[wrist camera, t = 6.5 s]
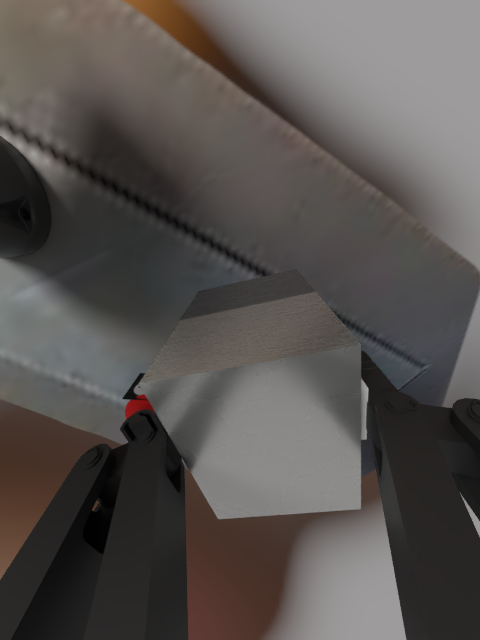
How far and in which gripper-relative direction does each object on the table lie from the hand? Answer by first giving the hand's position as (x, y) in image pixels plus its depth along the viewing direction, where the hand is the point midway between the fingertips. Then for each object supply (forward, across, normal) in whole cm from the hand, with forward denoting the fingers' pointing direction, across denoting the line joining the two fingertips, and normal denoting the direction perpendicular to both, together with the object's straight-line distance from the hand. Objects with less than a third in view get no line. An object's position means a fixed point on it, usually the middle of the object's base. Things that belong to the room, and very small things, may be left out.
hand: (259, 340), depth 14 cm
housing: (0, 0, 0) cm, 0 cm away
